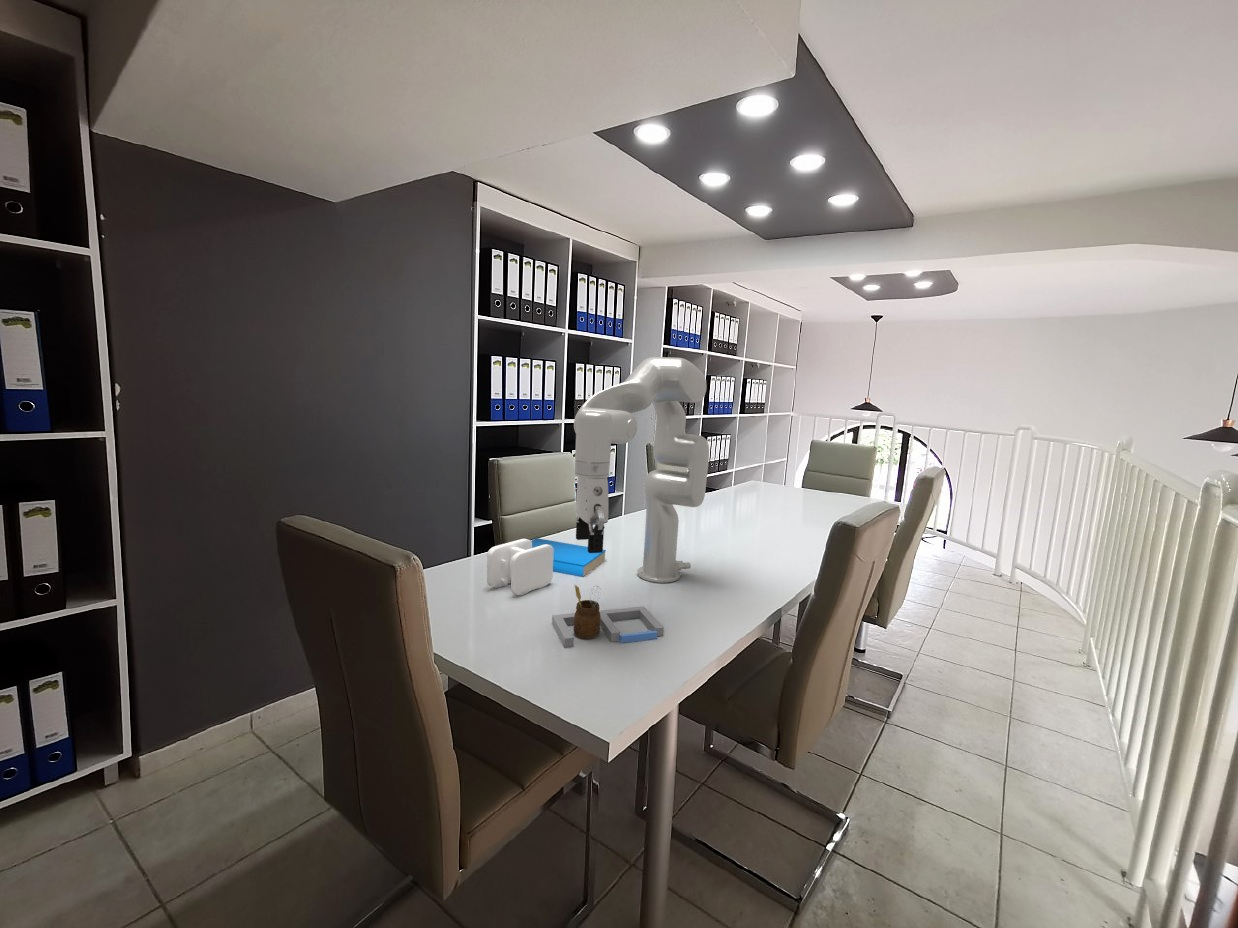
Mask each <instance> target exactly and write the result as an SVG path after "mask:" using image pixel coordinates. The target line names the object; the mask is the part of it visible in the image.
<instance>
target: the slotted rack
mask: <svg viewBox="0 0 1238 928" xmlns="http://www.w3.org/2000/svg"><path fill="white" fill-rule="evenodd" d="M599 612H600V616H601V619H600V629H601V630H602V631H603V632H604V633H605V635H606V637H607V638H608V639H609V641H610V642H620V644H624V643H630V642H631V643H632V642H641V641H647V640H648V641H650V640H657V639H658V637H664V631H665V630H664V626H663V625H662V624H661V623H660V622H659V620H657V618H656V617H655V616H654V615H653V614H652V613H651V612H650V611H649V610H648V609H647V608H646V607H645V606H644V605H642V606H641V605H640V606H632V607H622V608H621V607H620V608H611V609H601V610H600V609H599ZM574 615H575V612H570V613H560V614H553V615H552V617H551V624H552V626H553V627H554V630H555V631H556V634H557V636H558V638H559V640H560V642H561V643H562V646H563V647H564V648H570V647H571V648H572V647H575V646H574V645H575V644H574V643H575V637H574V634H572V632H571V629H570V628H569V626H574ZM632 619H634V620H635V619H639V620H640V621H641V622H642V623H643V625H644V626H645V625H646V626H647V627H646V626H645V627H646V628H647V629H648V630H647V631H639V632H630V633H622V634H621V631H620V630H619V629H618V628H617V626H616V625H615V624H614V622H615V621H622V620H632Z"/></svg>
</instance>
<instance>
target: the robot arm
mask: <svg viewBox="0 0 1238 928" xmlns="http://www.w3.org/2000/svg"><path fill="white" fill-rule="evenodd" d="M706 392H707V379H706V376H705V375H704V374H703V372H702V371H701V370H700V369H699V368H698V367H697V366H696V365H695V364H694V363H692V362H691V361H690V360H687V359H686V358H683V357H669V356H668V357H665V356H652V357H648V358H645V359H644V360H642V361H641V362H640V363H639V364H638V365H637V366H636V367H635V368H634V370H633V371H632V372H631V374H629V376H628V377H627V378H626V379H625V380H624V381H623V382H620V383H618V384H615V385H612V386H610V387H608V388H605V389H603V390H600V391H598V392H597V393H595V394H593V395H591V396H589V398H588V399H587V400H586V401H585V402H584V403H583V404H582V405H581V407H580V408H579V409H578V410H577V413H576V415H575V417H574V420H573V429H574V432H575V454H574V476H575V477H577V480H576V481H577V484H576V485H577V486H576V496H575V512H576V525H575V539H576V540H577V541H583V540H587V547H588V553H602V552H603V550H604V537H605V536H604V534H605V531H604V530H605V528H606V527H605V524H608V521H609V482H608V478H609V477H610V472H611V471H610V470H611V449H612V444H615V445H616V444H618V445H623V444H628V443H629V442H631V441H632V440H633V439H634V438H635V436H636V435H637V431H638V422H637V419H636V418H635V416H634V415H633V414H635V413H638V412H641V411H644V410H646V409H648V408H649V407H650V405H651V404H652V405H653V407H654V411H655V428H654V429H655V430H654V439H653V452H652V453H653V460H654V461H655V462H656V463H657V464H660V465H664V466H671V467H677V468H678V467H679V468H685V469H688V472H684V471H678V470H671V469H670V470H669V469H655V470H652V471H649V472H648V473H647V475H646V477H645V479H644V494H645V505H646V506H645V527H644V528H645V529H644V530H645V531H644V547H643V548H644V549H643V559H642V566H640V567H639V568H638V569H637V576H638V577H639V578H640V579H643V580H644V581H648V582H652V583H659V584H660V583H673V582H676V581H679V579H680V578H681V572H680V571H682V570H690V569H691V565H692V564H691V562H689V561H688V562H687V561H686V562H683V560H677V550H678V548H677V547H678V533H679V522H680V521H679V516H678V513H677V511H676V508H675V506H681V507H686V508H697V507H700V506H701V505H702V504H703V502H704V500H705V496H706V492H707V491H706V487H707V479H708V470H709V459H710V448H709V447H710V446H709V442H708V440H707V438H705V437H704V436H702V435H698V434H692V433H691V434H690V433H689V434H688V433H686V424H687V423H686V421H687V416H686V415H687V414H686V413H685V410H684V407H683V406H682V404H681V403H692V404H693V403H698V402H701V401H702V400H703V399H704V398H705V395H706ZM680 402H681V403H680Z"/></svg>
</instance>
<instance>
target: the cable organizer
mask: <svg viewBox="0 0 1238 928" xmlns="http://www.w3.org/2000/svg"><path fill="white" fill-rule="evenodd" d="M531 541H532V540H530V539H527V538H521V539H517V540H513V541H509V542H506V543H502V544H498V545H495V546H492V547H491V548H490V549H489V550H488V551H487V556H486V557H487V558H486V560H487V561H486V569H487V570H486V584H487V586H490V587H492V588H498V589H499V588H501V587H504V586H506V587H507V586H508V584H510V591H511V592H512V594H514V595H517V596H524V595H525V594H529V592H531V591H533V590H536V589H537V590H539V589H541V588H544V587H546V586H547V585H548V584H550V583H551V581H552V579H553V576H554V574H553V573H554V571H553V552H554V549H553V547H552V546H551V545H547V544H544V545H541V546H538V547H534V548H532V542H531ZM523 594H524V595H523Z"/></svg>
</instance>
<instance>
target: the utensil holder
mask: <svg viewBox="0 0 1238 928" xmlns="http://www.w3.org/2000/svg"><path fill="white" fill-rule="evenodd" d="M595 588H598V589H601V587H600V586H599V585H593V586H592V588H591V591H590V592H589V594H594V598H592V596H589V599H585V600H581V599H582V596H581V595H582V594H581V591H580V587H579V586H578V585H576V584H574V589H575V595H576V599H578V602H577V603H576V606H575V612H574V613H575V615H574V625H573V635H575V636H576V637H577V638H579V639H582V640H592V639H595V638H597V637H598V636H599V635H600V633H601V627H600V619H601V616H600V612H599V611H600V604H599V601H600V598H601V597H597V596H601V593H598V591H597V589H595ZM594 589H595V590H594ZM593 592H595V593H593ZM597 593H598V595H596V594H597ZM596 597H597V599H596V600H595V598H596Z"/></svg>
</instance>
